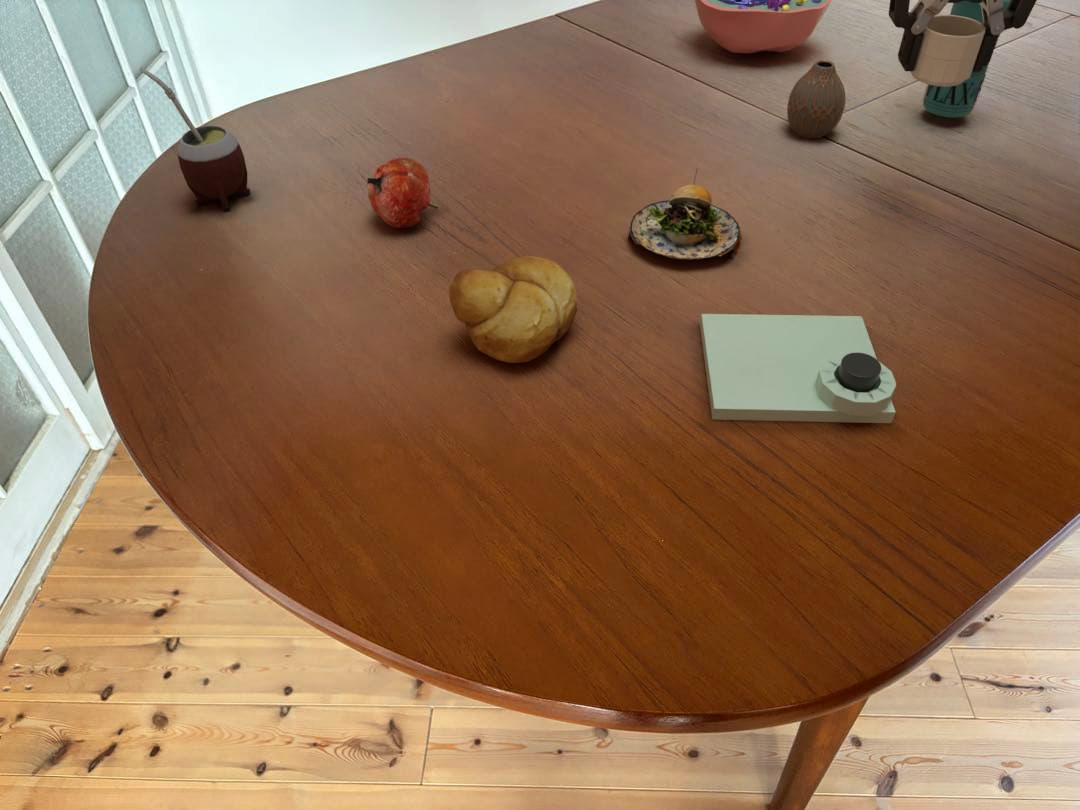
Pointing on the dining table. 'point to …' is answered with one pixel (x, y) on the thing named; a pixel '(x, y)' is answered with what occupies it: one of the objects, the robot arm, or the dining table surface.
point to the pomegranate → (400, 192)
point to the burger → (686, 226)
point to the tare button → (859, 372)
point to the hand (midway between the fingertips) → (940, 68)
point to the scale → (789, 369)
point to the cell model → (760, 23)
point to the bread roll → (515, 307)
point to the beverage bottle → (965, 94)
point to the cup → (948, 50)
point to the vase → (816, 101)
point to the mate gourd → (209, 159)
